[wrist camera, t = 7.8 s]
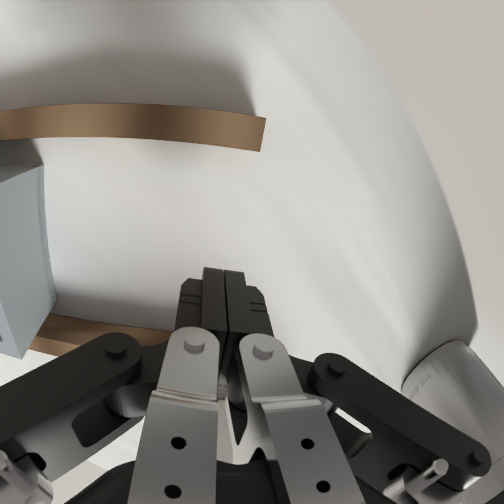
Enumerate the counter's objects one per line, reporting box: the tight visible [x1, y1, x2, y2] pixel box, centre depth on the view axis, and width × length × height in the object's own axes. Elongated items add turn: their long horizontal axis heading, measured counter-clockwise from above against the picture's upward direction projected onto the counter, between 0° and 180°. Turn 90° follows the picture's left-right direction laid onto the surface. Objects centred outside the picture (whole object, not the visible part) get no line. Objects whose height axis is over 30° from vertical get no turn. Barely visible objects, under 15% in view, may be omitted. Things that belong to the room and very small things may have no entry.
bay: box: [0, 103, 266, 357], centre depth 13 cm, size 22×15×2 cm
